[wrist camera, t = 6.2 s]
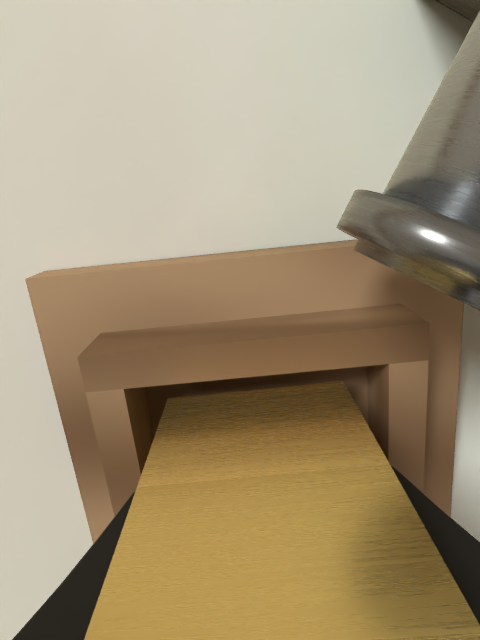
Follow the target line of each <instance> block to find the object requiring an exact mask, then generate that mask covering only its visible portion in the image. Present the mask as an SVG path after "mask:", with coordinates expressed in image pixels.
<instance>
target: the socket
mask: <svg viewBox="0 0 480 640" xmlns="http://www.w3.org/2000/svg"><path fill="white" fill-rule="evenodd" d="M358 240H359V239H358ZM358 240H348V241H338V242H328V243H318V244H309V245H299V246H289V247H279V248H269V249H259V250H249V251H239V252H229V253H220V254H210V255H200V256H190V257H180V258H170V259H160V260H150V261H140V262H131V263H121V264H111V265H101V266H91V267H81V268H71V269H61V270H51V271H44V272H42V273H39V274H37V275H34V276H32V277H29V278H27V279H25V280H26V284H27V288H28V292H29V295H30V299H31V303H32V307H33V311H34V315H35V319H36V323H37V326H38V330H39V334H40V338H41V342H42V346H43V350H44V354H45V358H46V361H47V365H48V369H49V373H50V377H51V381H52V385H53V389H54V392H55V396H56V400H57V404H58V408H59V412H60V416H61V420H62V424H63V427H64V431H65V435H66V439H67V443H68V447H69V451H70V455H71V458H72V462H73V466H74V470H75V474H76V478H77V482H78V486H79V490H80V493H81V497H82V501H83V505H84V509H85V513H86V517H87V521H88V524H89V528H90V532H91V536H92V540H93V544H94V543H95V541H96V540H97V539H98V538H99V536H100V535H101V534H102V532H103V531H104V530H105V529H106V527H107V526H108V525H109V523H110V522H111V521H112V520H113V518H114V517H115V516H116V514H117V513H118V512H119V510H120V509H121V508H122V506H123V505H124V504H125V503H126V501H127V500H128V499H129V497H130V496H131V495H132V494H133V493H134V491H135V490H136V489H137V486H138V483H139V480H140V477H141V474H142V471H143V468H144V465H145V463H146V460H147V457H148V454H149V451H150V448H151V445H152V442H153V440H154V437H155V434H156V431H157V428H158V425H159V422H160V419H161V416H162V414H163V411H164V408H165V405H166V402H167V399H168V398H176V397H186V396H196V395H206V394H216V393H226V392H237V391H247V390H257V389H267V388H277V387H288V386H298V385H308V384H318V383H328V382H338V381H343V382H344V383H345V385H346V387H347V389H348V391H349V392H350V394H351V396H352V398H353V399H354V401H355V403H356V405H357V407H358V408H359V410H360V412H361V414H362V416H363V417H364V419H365V421H366V423H367V424H368V426H369V428H370V430H371V432H372V433H373V435H374V437H375V439H376V441H377V442H378V444H379V446H380V448H381V450H382V451H383V453H384V455H385V457H386V458H387V460H388V462H389V464H390V466H393V467H394V468H395V469H396V470H398V471H399V472H400V473H401V474H402V475H403V476H404V477H406V478H407V479H408V480H409V481H410V482H411V483H412V484H413V485H414V486H416V487H417V488H418V489H419V490H420V491H421V492H422V493H423V494H424V495H426V496H427V497H428V498H429V499H430V500H431V501H432V502H433V503H434V504H436V505H437V506H438V507H439V508H440V509H441V510H442V511H444V512H445V513H446V514H447V515H448V516H449V517H450V513H451V497H452V481H453V465H454V449H455V433H456V417H457V401H458V385H459V369H460V353H461V337H462V321H463V304H464V302H461V301H459V300H457V299H455V298H453V297H451V296H449V295H447V294H445V293H442V292H440V291H438V290H436V289H434V288H432V287H430V286H428V285H426V284H423V283H421V282H419V281H417V280H415V279H413V278H411V277H409V276H407V275H404V274H402V273H400V272H398V271H396V270H394V269H392V268H390V267H388V266H386V265H384V264H381V263H379V262H377V261H375V260H373V259H371V258H369V257H367V256H365V255H363V254H361V253H359V252H357V251H355V250H353V249H354V247H355V246H356V244H357V242H358Z"/></svg>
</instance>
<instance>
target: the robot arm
mask: <svg viewBox="0 0 480 640" xmlns="http://www.w3.org/2000/svg"><path fill="white" fill-rule="evenodd" d="M391 467H392V469H393V471H394V473H395V475H396V476H397V478H398V480H399V482H400V483H401V485H402V487H403V489H404V491H405V492H406V494H407V496H408V498H409V500H410V501H411V503H412V505H413V507H414V508H415V510H416V512H417V514H418V516H419V517H420V519H421V521H422V523H423V525H424V526H425V528H426V530H427V532H428V534H429V535H430V537H431V539H432V541H433V542H434V544H435V546H436V548H437V550H438V551H439V553H440V555H441V557H442V559H443V560H444V562H445V564H446V566H447V567H448V569H449V571H450V573H451V575H452V576H453V578H454V580H455V582H456V584H457V585H458V587H459V589H460V591H461V593H462V594H463V596H464V598H465V600H466V601H467V603H468V605H469V607H470V609H471V610H472V612H473V614H474V616H475V618H476V619H477V621H478V623H479V625H480V542H479V541H477V540H476V539H475V538H474V537H473V536H472V535H470V534H469V533H468V532H467V531H466V530H464V529H463V528H462V527H461V526H460V525H458V524H457V523H456V522H455V521H454V520H453V519H452V518H450V517H449V516H448V515H447V514H446V513H445V512H444V511H442V510H441V509H440V508H439V507H438V506H437V505H436V504H434V503H433V502H432V501H431V500H430V499H429V498H428V497H427V496H426V495H424V494H423V493H422V492H421V491H420V490H419V489H418V488H417V487H416V486H414V485H413V484H412V483H411V482H410V481H409V480H408V479H407V478H406V477H404V476H403V475H402V474H401V473H400V472H399V471H398V470H396V469H395V468H394V467H393V466H391ZM135 491H136V490H135ZM135 491H134V493H133V494H132V495H131V496H130V497H129V499H128V500H127V501H126V503H125V504H124V505H123V506H122V508H121V509H120V510H119V512H118V513H117V514H116V516H115V517H114V518H113V520H112V521H111V522H110V523H109V525H108V526H107V527H106V529H105V530H104V531H103V532H102V534H101V535H100V536H99V538H98V539H97V540H96V541H95V543H94V544H93V545H92V547H91V548H90V549H89V550H88V551H87V553H86V554H85V555H84V556H83V558H82V559H81V560H80V561H79V563H78V564H77V565H76V566H75V567H74V569H73V570H72V571H71V572H70V574H69V575H68V576H67V577H66V579H65V580H64V581H63V582H62V583H61V585H60V586H59V587H58V588H57V589H56V591H55V592H54V593H53V594H52V595H51V596H50V597H49V598H48V600H47V601H46V602H45V603H44V604H43V605H42V606H41V608H40V609H39V610H38V611H37V612H36V613H35V614H34V616H33V617H32V618H31V619H30V620H29V621H28V622H27V624H26V625H25V626H24V627H23V628H22V629H21V630H20V632H19V633H18V634H17V635H16V636H15V637H14V638H13V639H12V640H84V638H85V636H86V633H87V630H88V627H89V624H90V621H91V618H92V615H93V612H94V610H95V607H96V604H97V601H98V598H99V595H100V592H101V589H102V587H103V584H104V581H105V578H106V575H107V572H108V569H109V566H110V563H111V561H112V558H113V555H114V552H115V549H116V546H117V543H118V540H119V538H120V535H121V532H122V529H123V526H124V523H125V520H126V517H127V514H128V512H129V509H130V506H131V503H132V500H133V497H134V494H135Z"/></svg>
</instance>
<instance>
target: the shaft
mask: <svg viewBox="0 0 480 640" xmlns="http://www.w3.org/2000/svg"><path fill="white" fill-rule="evenodd" d="M437 1H439V2H440V3H442V4H444V5H446V6H447V7H449V8H451V9H453V10H454V11H456V12H458V13H460V14H461V15H463V16H465V17H466V18H468V19H470V20H472V21H473V24H472V26H471V28H470V30H469V32H468V34H467V35H466V37H465V39H464V41H463V43H462V45H461V47H460V49H459V51H458V52H457V54H456V56H455V58H454V60H453V62H452V64H451V66H450V68H449V70H448V71H447V73H446V75H445V77H444V79H443V81H442V83H441V85H440V87H439V88H438V90H437V92H436V94H435V96H434V98H433V100H432V102H431V104H430V105H429V107H428V109H427V111H426V113H425V115H424V117H423V119H422V121H421V123H420V124H419V126H418V128H417V130H416V132H415V134H414V136H413V138H412V140H411V141H410V143H409V145H408V147H407V149H406V151H405V153H404V155H403V157H402V158H401V160H400V162H399V164H398V166H397V168H396V170H395V172H394V174H393V175H392V177H391V179H390V181H389V183H388V185H387V187H386V189H385V191H384V193H383V194H381V193H377V192H372V191H367V190H356V191H355V192H354V194H353V196H352V197H351V199H350V201H349V203H348V205H347V207H346V209H345V211H344V213H343V215H342V217H341V219H340V221H339V223H338V225H337V227H336V228H338V229H339V230H341V231H343V232H345V233H347V234H349V235H351V236H353V237H355V238H357V239H359V240H358V242H357V244H356V246H355V247H354V249H353V250H355V251H357V252H359V253H361V254H363V255H365V256H367V257H369V258H371V259H373V260H375V261H377V262H379V263H381V264H384V265H386V266H388V267H390V268H392V269H394V270H396V271H398V272H400V273H402V274H404V275H407V276H409V277H411V278H413V279H415V280H417V281H419V282H421V283H423V284H426V285H428V286H430V287H432V288H434V289H436V290H438V291H440V292H442V293H445V294H447V295H449V296H451V297H453V298H455V299H457V300H459V301H461V302H464V303H466V304H468V305H470V306H472V307H474V308H476V309H478V310H480V0H437Z"/></svg>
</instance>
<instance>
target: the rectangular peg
mask: <svg viewBox="0 0 480 640" xmlns="http://www.w3.org/2000/svg"><path fill="white" fill-rule="evenodd" d="M84 640H480V625H479V623H478V621H477V619H476V618H475V616H474V614H473V612H472V610H471V609H470V607H469V605H468V603H467V601H466V600H465V598H464V596H463V594H462V593H461V591H460V589H459V587H458V585H457V584H456V582H455V580H454V578H453V576H452V575H451V573H450V571H449V569H448V567H447V566H446V564H445V562H444V560H443V559H442V557H441V555H440V553H439V551H438V550H437V548H436V546H435V544H434V542H433V541H432V539H431V537H430V535H429V534H428V532H427V530H426V528H425V526H424V525H423V523H422V521H421V519H420V517H419V516H418V514H417V512H416V510H415V508H414V507H413V505H412V503H411V501H410V500H409V498H408V496H407V494H406V492H405V491H404V489H403V487H402V485H401V483H400V482H399V480H398V478H397V476H396V475H395V473H394V471H393V469H392V467H391V466H390V464H389V462H388V460H387V458H386V457H385V455H384V453H383V451H382V450H381V448H380V446H379V444H378V442H377V441H376V439H375V437H374V435H373V433H372V432H371V430H370V428H369V426H368V424H367V423H366V421H365V419H364V417H363V416H362V414H361V412H360V410H359V408H358V407H357V405H356V403H355V401H354V399H353V398H352V396H351V394H350V392H349V391H348V389H347V387H346V385H345V383H344V382H343V381H338V382H328V383H318V384H308V385H298V386H288V387H277V388H267V389H257V390H247V391H237V392H226V393H216V394H206V395H196V396H186V397H176V398H168V399H167V402H166V405H165V408H164V411H163V414H162V416H161V419H160V422H159V425H158V428H157V431H156V434H155V437H154V440H153V442H152V445H151V448H150V451H149V454H148V457H147V460H146V463H145V465H144V468H143V471H142V474H141V477H140V480H139V483H138V486H137V489H136V491H135V494H134V497H133V500H132V503H131V506H130V509H129V512H128V514H127V517H126V520H125V523H124V526H123V529H122V532H121V535H120V538H119V540H118V543H117V546H116V549H115V552H114V555H113V558H112V561H111V563H110V566H109V569H108V572H107V575H106V578H105V581H104V584H103V587H102V589H101V592H100V595H99V598H98V601H97V604H96V607H95V610H94V612H93V615H92V618H91V621H90V624H89V627H88V630H87V633H86V636H85V638H84Z"/></svg>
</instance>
